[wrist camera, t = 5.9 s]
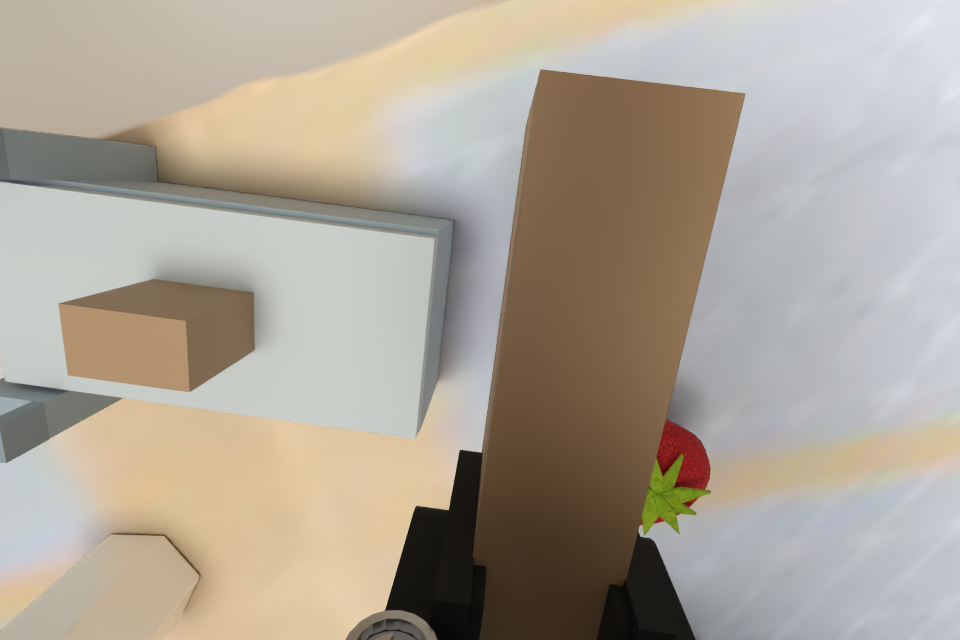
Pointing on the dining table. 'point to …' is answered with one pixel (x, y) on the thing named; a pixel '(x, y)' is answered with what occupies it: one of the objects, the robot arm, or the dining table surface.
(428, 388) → the toolbox
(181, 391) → the lid
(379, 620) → the robot arm
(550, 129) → the brown block
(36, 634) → the jar
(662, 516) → the strawberry
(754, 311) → the dining table surface
